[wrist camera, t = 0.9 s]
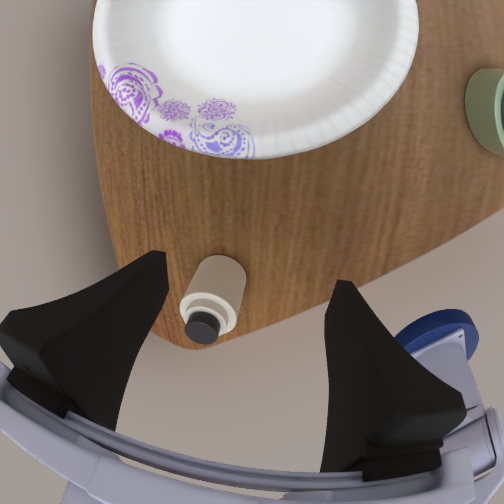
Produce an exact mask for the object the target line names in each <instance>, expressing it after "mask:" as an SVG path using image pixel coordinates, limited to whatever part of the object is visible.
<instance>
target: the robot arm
mask: <svg viewBox="0 0 504 504" xmlns="http://www.w3.org/2000/svg"><path fill="white" fill-rule="evenodd" d="M168 291H169V284H168V274H167V263H166V252H162V251H156V250H152V251H150V252H148V253H146V254H145V255H143V256H141V257H140V258H138V259H136V260H135V261H133V262H131V263H130V264H128V265H127V266H125V267H123V268H122V269H120V270H118V271H117V272H115V273H113V274H112V275H110V276H108V277H106V278H105V279H103V280H101V281H99V282H97V283H95V284H94V285H91V286H89V287H87V288H85V289H83V290H81V291H79V292H77V293H74V294H71V295H68V296H66V297H63V298H61V299H58V300H55V301H52V302H49V303H45V304H41V305H38V306H34V307H29V308H24V309H18V310H13V311H10V312H9V314H8V315H7V316H6V317H5V319H4V320H3V321H2V322H1V324H0V346H1V348H2V349H3V350H4V352H5V353H6V355H7V356H8V358H9V359H10V360H11V362H12V363H13V365H14V368H13V369H12V371H11V370H10V369H9V368H8V367H7V366H6V365H5V364H3V363H2V362H0V430H1V431H2V432H3V433H4V434H6V435H7V436H8V437H9V438H10V439H11V440H13V441H14V442H15V443H16V444H17V445H19V446H20V447H21V448H23V449H24V450H25V451H26V452H28V453H29V454H30V455H32V456H33V457H34V458H36V459H37V460H38V461H40V462H41V463H43V464H44V465H45V466H47V467H48V468H50V469H51V470H53V471H54V472H56V473H57V474H59V475H61V476H62V477H64V478H65V479H67V480H69V481H68V484H67V487H66V489H65V492H64V495H63V497H62V500H61V503H60V504H489V499H490V498H491V497H492V496H493V494H494V493H495V492H496V491H497V489H498V488H499V487H500V485H501V484H502V483H503V482H504V426H503V422H502V419H501V417H500V414H499V412H498V410H497V409H495V408H492V407H490V408H488V409H487V410H486V409H485V408H484V405H483V402H482V399H481V396H480V393H479V390H478V387H477V384H476V381H475V379H474V376H473V373H472V371H471V368H470V366H469V363H468V360H467V358H466V348H465V337H464V330H463V328H459V329H457V330H455V331H453V332H452V333H450V334H448V335H446V336H444V337H442V338H440V339H438V340H436V341H434V342H432V343H430V344H428V345H426V346H424V347H422V348H420V349H418V350H416V351H414V352H411V353H408V352H407V351H406V350H405V349H404V348H403V347H402V346H401V345H400V343H399V342H398V341H397V340H396V339H395V338H394V337H393V336H392V335H391V334H390V332H389V331H388V330H387V329H386V327H385V326H384V325H383V324H382V323H381V321H380V320H379V319H378V317H377V316H376V315H375V313H374V312H373V311H372V309H371V308H370V307H369V305H368V304H367V302H366V301H365V300H364V299H363V297H362V296H361V294H360V293H359V291H358V290H357V288H356V287H355V286H354V284H353V283H352V282H351V281H345V280H338V279H337V282H336V285H335V288H334V291H333V294H332V297H331V300H330V302H329V305H328V308H327V311H326V313H325V329H324V330H325V332H324V335H325V336H324V337H325V347H326V357H327V367H328V378H329V403H328V418H327V430H326V437H325V445H324V452H323V458H322V463H321V468H320V473H308V472H286V471H274V470H264V469H255V468H247V467H240V466H234V465H228V464H223V463H218V462H212V461H208V460H203V459H199V458H194V457H190V456H186V455H183V454H179V453H175V452H171V451H168V450H165V449H162V448H158V447H155V446H152V445H149V444H146V443H143V442H140V441H137V440H134V439H132V438H129V437H127V436H124V435H121V434H119V433H116V432H115V429H116V424H117V419H118V415H119V410H120V406H121V402H122V399H123V395H124V392H125V388H126V385H127V382H128V379H129V376H130V373H131V370H132V367H133V365H134V362H135V359H136V357H137V354H138V352H139V350H140V348H141V346H142V344H143V342H144V340H145V338H146V337H147V335H148V333H149V331H150V329H151V327H152V326H153V324H154V322H155V320H156V318H157V316H158V315H159V313H160V311H161V309H162V307H163V304H164V302H165V299H166V296H167V294H168ZM104 448H105V449H104ZM106 449H107V450H106ZM108 450H109V451H108ZM110 451H111V452H110ZM112 452H114V453H116V454H119V455H121V456H124V457H126V458H129V459H131V460H134V461H137V462H140V463H143V464H145V465H148V466H151V467H154V468H157V469H160V470H163V471H167V472H170V473H174V474H178V475H181V476H185V477H189V478H193V479H197V480H202V481H206V482H211V483H216V484H221V485H227V486H233V487H239V488H246V489H255V490H264V491H277V492H294V493H286V494H284V496H283V498H281V499H271V498H263V497H256V496H250V495H243V494H237V493H232V492H227V491H222V490H216V489H212V488H208V487H203V486H199V485H195V484H191V483H186V482H183V481H179V480H176V479H172V478H168V477H165V476H162V475H158V474H155V473H151V472H148V471H145V470H143V469H140V468H137V467H134V466H132V465H129V464H126V463H124V462H123V461H121V460H120V459H119V457H118V456H117V455H115V454H114V453H112ZM492 467H494V468H493V470H492V471H491V472H490V473H488V474H487V475H485V476H483V477H481V478H479V479H477V480H474V477H475V476H476V475H479V474H481V473H483V472H485V471H487V470H488V469H490V468H492Z"/></svg>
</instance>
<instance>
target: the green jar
mask: <svg viewBox="0 0 504 504" xmlns="http://www.w3.org/2000/svg"><path fill="white" fill-rule="evenodd" d="M465 111H466V116H467V120H468V123H469V126H470V129H471V131H472V133H473V135H474V136H475V138H476V139H477V141H478V142H479V143H480V144H481V145H482V146H483V147H484V148H485V149H487V150H488V151H490V152H493V153H495V154H497V155H499V156H501V157H503V158H504V68H482V69H479V70H478V71H476V72H475V73H474V74H473V75H472V76H471V78H470V79H469V81H468V84H467V87H466V91H465Z"/></svg>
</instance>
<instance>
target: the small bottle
mask: <svg viewBox="0 0 504 504" xmlns="http://www.w3.org/2000/svg"><path fill="white" fill-rule="evenodd" d="M245 285H246V273H245V271H244V269H243V267H242V266H241V265H240V264H239V263H238V262H237V261H235V260H234V259H232V258H230V257H227V256H223V255H213V256H210V257H207V258H205V259H204V260H203V261H202V262H201V263H200V264H199V266H198V268H197V270H196V272H195V274H194V276H193V278H192V280H191V282H190V284H189V286H188V288H187V290H186V292H185V294H184V297H183V299H182V301H181V303H180V313H181V316H182V317H183V319H184V321H185V323H186V325H185V333H186V335H187V336H188V337H189V338H190V339H191V340H192V341H194V342H196V343H199V344H203V345H209V344H212V343H214V342H215V341H216V340H217V338H218V336H220V335H221V334H224V333H227V332H229V331H230V330H232V329H233V328H234V326H235V324H236V322H237V318H238V313H239V309H240V305H241V301H242V297H243V293H244V289H245Z"/></svg>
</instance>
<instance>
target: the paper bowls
mask: <svg viewBox="0 0 504 504" xmlns="http://www.w3.org/2000/svg"><path fill="white" fill-rule="evenodd" d="M418 32H419V22H418V9H417V5H416V1H415V0H97V4H96V8H95V13H94V20H93V34H92V35H93V49H94V55H95V60H96V63H97V68H98V70H99V72H100V75H101V78H102V79H103V82H104V83H105V85H106V88H107V89H108V91H109V92H110V94H111V96H112V97H113V98H114V99H115V101H116V102H117V104H118V105H119V106H120V108H121V109H123V111H124V112H125V113H126V114H128V115H129V116H130V117H131V119H133V120H134V121H135V122H136V123H138V124H139V125H140V126H141V127H142V128H143V129H146V130H147V131H148V132H150V133H152V134H153V135H155V136H157V137H158V138H160V139H162V140H164V141H166V142H168V143H171V144H173V145H175V146H177V147H180V148H183V149H187V150H190V151H192V152H197V153H200V154H205V155H208V156H213V157H219V158H231V159H269V158H278V157H283V156H286V155H293V154H296V153H300V152H305V151H309V150H312V149H315V148H319V147H321V146H324V145H327V144H329V143H331V142H333V141H336V140H338V139H340V138H341V137H343V136H345V135H347V134H349V133H350V132H352V131H353V130H355V129H357V128H358V127H360V126H361V125H363V124H364V123H365V122H367V121H368V120H370V119H371V118H373V117H374V116H375V115H376V114H377V113H378V112H379V110H380V109H381V108H382V107H383V106H385V105H386V104H387V103H388V102H389V101H390V99H391V98H392V97H393V95H394V94H395V93H396V92H397V90H398V89H399V87H400V86H401V84H402V82H403V81H404V79H405V77H406V75H407V73H408V71H409V69H410V67H411V64H412V62H413V58H414V55H415V51H416V47H417V41H418Z"/></svg>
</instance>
